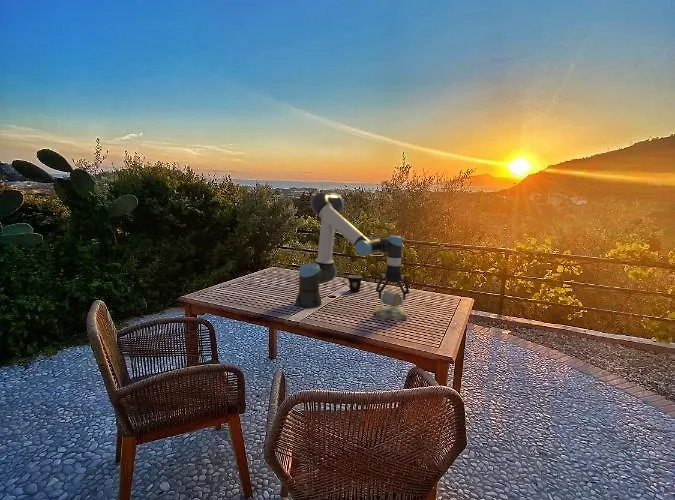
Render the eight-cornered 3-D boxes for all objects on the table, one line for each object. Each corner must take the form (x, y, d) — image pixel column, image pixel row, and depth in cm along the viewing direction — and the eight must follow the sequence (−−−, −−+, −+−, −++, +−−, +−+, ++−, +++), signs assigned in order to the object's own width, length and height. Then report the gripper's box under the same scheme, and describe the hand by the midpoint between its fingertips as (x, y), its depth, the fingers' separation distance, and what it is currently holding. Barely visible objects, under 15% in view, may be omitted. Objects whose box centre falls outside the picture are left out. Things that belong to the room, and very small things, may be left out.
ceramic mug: (393, 308, 197) (394, 294, 196) (381, 305, 203) (382, 291, 202) (405, 305, 205) (406, 291, 204) (392, 301, 211) (393, 288, 209)
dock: (375, 318, 199) (376, 312, 198) (375, 311, 210) (376, 305, 210) (406, 320, 197) (406, 314, 197) (404, 313, 209) (404, 307, 209)
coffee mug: (363, 290, 253) (364, 276, 251) (357, 293, 245) (357, 278, 244) (348, 288, 259) (349, 273, 257) (342, 290, 252) (342, 276, 250)
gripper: (372, 265, 197) (370, 305, 200) (416, 267, 195) (413, 308, 198) (372, 262, 204) (370, 301, 208) (414, 264, 202) (412, 304, 206)
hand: (391, 305), depth 203 cm, fingers closed on ceramic mug, 10 cm apart
